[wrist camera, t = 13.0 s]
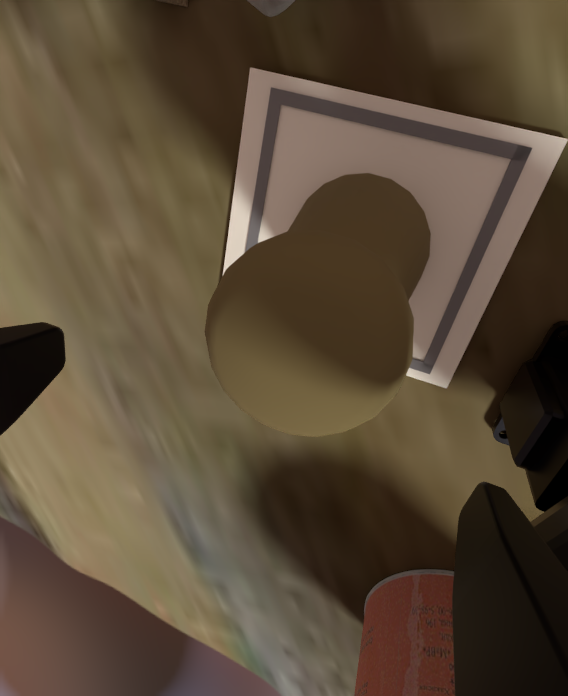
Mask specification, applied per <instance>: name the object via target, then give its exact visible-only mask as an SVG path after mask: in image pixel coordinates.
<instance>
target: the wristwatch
mask: <svg viewBox="0 0 568 696" xmlns="http://www.w3.org/2000/svg"><path fill="white" fill-rule="evenodd" d="M247 1H248V2H249V3H251V4H252V5H253V6H254V7H255V8H257V9H258V10H259V11H260V12H261V13H263V14H264V15H266V16H269V17H273V16H276V15H279V14H280V13H282V12H283V11H284V10H286V9H287V8H288V7H289V6H290V5H291V4H292V3H293V2H294V1H295V0H247Z"/></svg>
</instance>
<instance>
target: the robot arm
mask: <svg viewBox="0 0 568 696" xmlns="http://www.w3.org/2000/svg"><path fill="white" fill-rule="evenodd" d="M565 330H567V331H568V321H562V322H558V323H556V324H554V325H553V326H552V327H551V329H550V330H549V332H548V334H547V335H546V337H545V339H544V340H543V342H542V344H541V346H540V347H539V349H538V351H537V352H536V354H535V356H534V357H533V359H532V360H529V361H527V362H525V363H523V365H522V367H521V368H520V370H519V372H518V374H517V375H516V377H515V379H514V381H513V382H512V384H511V386H510V387H509V389H508V391H507V393H506V394H505V396H504V398H503V400H502V401H501V403H500V410H501V414H500V415H499V417H498V419H497V420H496V422H495V424H494V425H493V428H492V431H493V436H494V438H495V439H496V440H497V441H498V442H501V443H503V444H506V445H509V446H510V450H511V454H512V457H513V460H514V462H515V464H516V466H517V467H520V468H523V469H525V471H526V474H527V478H528V482H529V485H530V489H531V492H532V496H533V499H534V503H535V506H536V508H538V509H539V510H541V511H544V513H543V514H541V515H540V516H538V517H537V518H536V519H534V520H533V521H531V522H530V521H529V520H528V519H527V517H526V516H525V515H524V513H523V512H522V511H521V510H520V508H519V507H518V506H517V504H516V503H515V502H514V500H513V499H512V498H511V496H510V495H509V494H508V493H507V491H506V490H505V489H503V488H501V487H498V486H495V485H493V484H490V483H487V482H481V483H479V484H478V485H477V487H476V488H475V490H474V491H473V493H472V494H471V496H470V497H469V499H468V500H467V502H466V504H465V505H464V507H463V508H462V510H461V513H460V516H459V521H458V532H457V544H456V555H455V567H454V579H453V593H452V621H453V653H454V684H455V696H568V336H566V337H558V336H559V334H560V333H561V332H562V331H565ZM64 364H65V343H64V333H63V331H62V329H60V328H59V327H56V326H54V325H51V324H48V323H44V322H40V323H33V324H25V325H18V326H11V327H4V328H0V435H2V434H3V433H4V432H5V431H6V430H7V429H8V428H9V427H10V426H11V425H12V424H13V423H14V422H15V421H16V420H17V419H18V418H19V417H20V416H21V415H22V414H23V413H24V412H25V411H26V409H27V408H28V407H29V406H30V405H31V404H32V403H33V402H34V401H35V399H36V398H37V397H38V396H39V395H40V394H41V393H42V392H43V390H44V389H45V388H46V387H47V386H48V385H49V384H50V383H51V382H52V380H53V379H54V378H55V377H56V376H57V375H58V374H59V373H60V372H61V370H62V369H63V367H64ZM503 430H506V434H501V433H500V432H501V431H503Z"/></svg>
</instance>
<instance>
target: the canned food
mask: <svg viewBox="0 0 568 696" xmlns="http://www.w3.org/2000/svg"><path fill="white" fill-rule="evenodd" d="M453 579H454V571H449V570H439V569H419V570H410V571H405V572H401V573H397V574H394V575H392V576H389V577H387V578H385V579H383V580H382V581H380V582H379V583H377V584H376V585H375V586H374V587H373V588H372V589H371V591H370V592H369V594H368V595H367V598H366V601H365V606H364V616H365V617H364V625H363V632H362V640H361V648H360V656H359V663H358V671H357V679H356V687H355V695H354V696H455V684H454V653H453V621H452V593H453Z"/></svg>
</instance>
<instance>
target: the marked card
mask: <svg viewBox="0 0 568 696" xmlns="http://www.w3.org/2000/svg"><path fill="white" fill-rule="evenodd" d="M567 141H568V139H565V138H561V137H557V136H552V135H548V134H543V133H539V132H534V131H530V130H526V129H521V128H517V127H512V126H508V125H503V124H499V123H495V122H490V121H486V120H481V119H477V118H472V117H468V116H464V115H459V114H455V113H450V112H446V111H441V110H437V109H433V108H428V107H424V106H419V105H415V104H410V103H406V102H402V101H397V100H393V99H388V98H384V97H379V96H375V95H371V94H366V93H362V92H357V91H353V90H348V89H344V88H340V87H335V86H331V85H326V84H322V83H317V82H313V81H309V80H304V79H300V78H295V77H291V76H286V75H282V74H278V73H273V72H269V71H264V70H260V69H256V68H251V67H250V73H249V80H248V88H247V96H246V103H245V111H244V118H243V126H242V133H241V141H240V148H239V156H238V164H237V171H236V179H235V186H234V194H233V201H232V209H231V217H230V224H229V232H228V239H227V247H226V254H225V262H224V269H223V275H224V273H225V271H226V269H227V268H228V267H229V266H230V265H231V264H233V263H234V262H235V261H236V260H237V259H238V258H239V257H240V256H241V255H243V254H244V253H245V252H246V251H247V250H248V249H249V248H251V247H253V246H254V245H256V244H257V243H259V242H262V241H264V240H267V239H269V238H272V237H274V236H277V235H280V234H282V233H285V232H287V231H288V230H289V228H290V226H291V225H292V223H293V221H294V220H295V218H296V216H297V215H298V213H299V211H300V210H301V208H302V207H303V205H304V203H305V202H306V200H307V199H308V198H309V197H310V196H311V195H312V194H313V193H314V192H315V191H316V190H318V189H319V188H320V187H321V186H322V185H323V184H325V183H327V182H329V181H332V180H334V179H336V178H339V177H341V176H343V175H348V174H361V173H370V174H374V175H378V176H382V177H385V178H389V179H392V180H393V181H395V182H396V183H398V184H399V185H401V186H402V187H403V188H405V189H406V190H408V191H409V192H411V194H412V195H413V196H414V198H415V199H416V201H417V202H418V203H419V205H420V206H421V208H422V209H423V210H424V212H425V216H426V219H427V223H428V226H429V229H430V233H431V237H430V256H429V259H428V261H427V264H426V266H425V269H424V271H423V274H422V276H421V279H420V280H419V282H418V284H417V286H416V288H415V290H414V292H413V294H412V296H411V297H410V299H409V304H410V308H411V311H412V314H413V317H414V335H413V360H412V362H411V365H410V367H409V369H408V372H407V374H406V375H407V376H410V377H413V378H416V379H419V380H422V381H425V382H428V383H431V384H434V385H437V386H440V387H444V388H447V387H448V385H449V383H450V381H451V379H452V377H453V375H454V373H455V370H456V368H457V366H458V364H459V362H460V360H461V358H462V356H463V354H464V352H465V350H466V348H467V346H468V344H469V342H470V340H471V338H472V336H473V334H474V331H475V329H476V327H477V325H478V323H479V321H480V319H481V317H482V315H483V313H484V311H485V309H486V307H487V305H488V303H489V301H490V299H491V297H492V295H493V292H494V290H495V288H496V286H497V284H498V282H499V280H500V278H501V276H502V274H503V272H504V270H505V268H506V266H507V264H508V262H509V260H510V258H511V256H512V253H513V251H514V249H515V247H516V245H517V243H518V241H519V239H520V237H521V235H522V233H523V231H524V229H525V227H526V225H527V223H528V221H529V219H530V217H531V214H532V212H533V210H534V208H535V206H536V204H537V202H538V200H539V198H540V196H541V194H542V192H543V190H544V188H545V186H546V184H547V182H548V180H549V178H550V175H551V173H552V171H553V169H554V167H555V165H556V163H557V161H558V159H559V157H560V155H561V153H562V151H563V149H564V147H565V145H566V143H567Z"/></svg>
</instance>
